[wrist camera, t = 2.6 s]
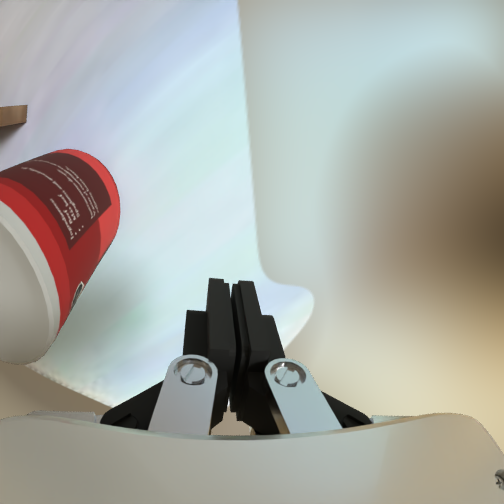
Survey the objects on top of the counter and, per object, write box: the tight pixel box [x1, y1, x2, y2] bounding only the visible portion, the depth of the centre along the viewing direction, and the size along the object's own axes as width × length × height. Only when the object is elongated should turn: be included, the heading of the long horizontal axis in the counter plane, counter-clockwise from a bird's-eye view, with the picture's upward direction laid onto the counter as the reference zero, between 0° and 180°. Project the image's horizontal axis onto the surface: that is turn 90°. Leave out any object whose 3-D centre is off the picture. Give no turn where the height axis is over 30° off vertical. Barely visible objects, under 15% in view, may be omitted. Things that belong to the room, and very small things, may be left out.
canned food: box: [0, 149, 120, 364], centre depth 13 cm, size 8×8×11 cm
